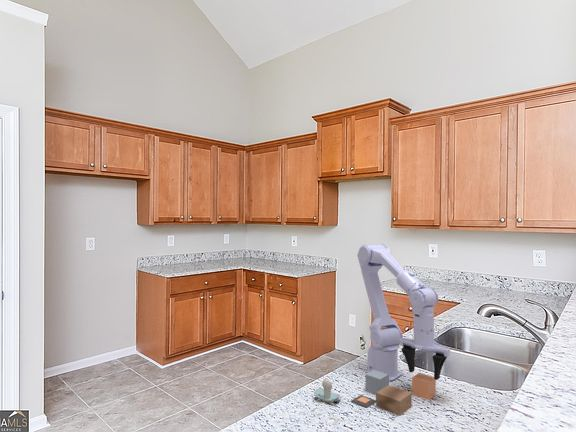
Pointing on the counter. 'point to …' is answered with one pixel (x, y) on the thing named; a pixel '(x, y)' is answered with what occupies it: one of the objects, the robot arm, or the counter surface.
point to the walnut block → (394, 400)
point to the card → (363, 401)
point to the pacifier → (327, 392)
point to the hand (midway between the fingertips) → (424, 375)
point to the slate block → (376, 381)
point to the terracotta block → (423, 386)
